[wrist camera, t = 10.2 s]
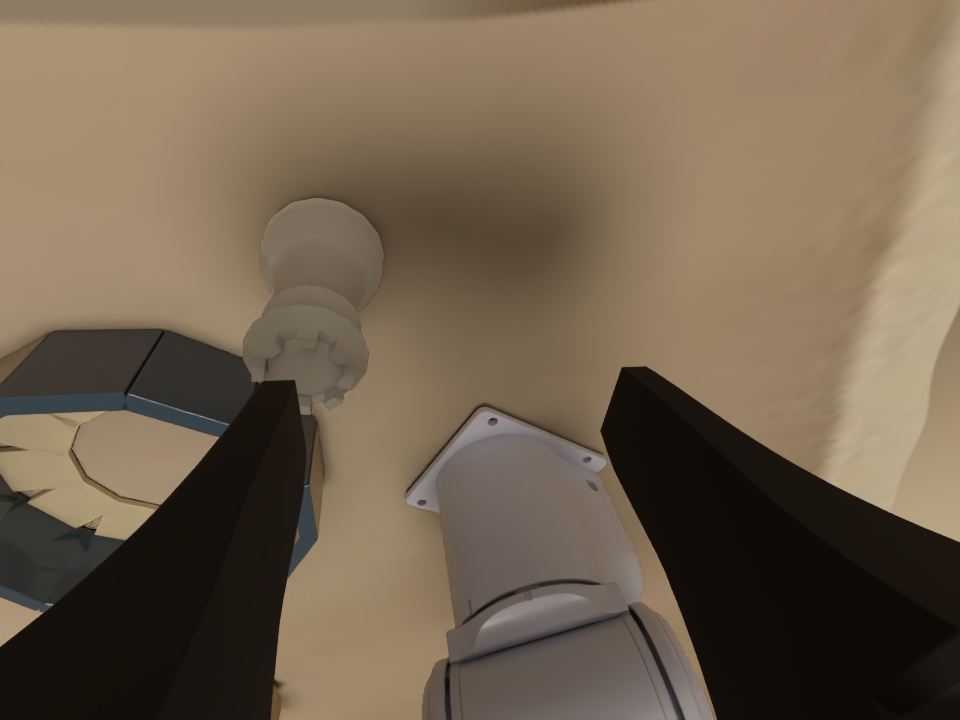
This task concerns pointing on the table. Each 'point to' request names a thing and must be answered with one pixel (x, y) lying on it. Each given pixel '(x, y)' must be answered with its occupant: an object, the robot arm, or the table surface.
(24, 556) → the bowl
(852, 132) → the table surface
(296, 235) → the rook chess piece
